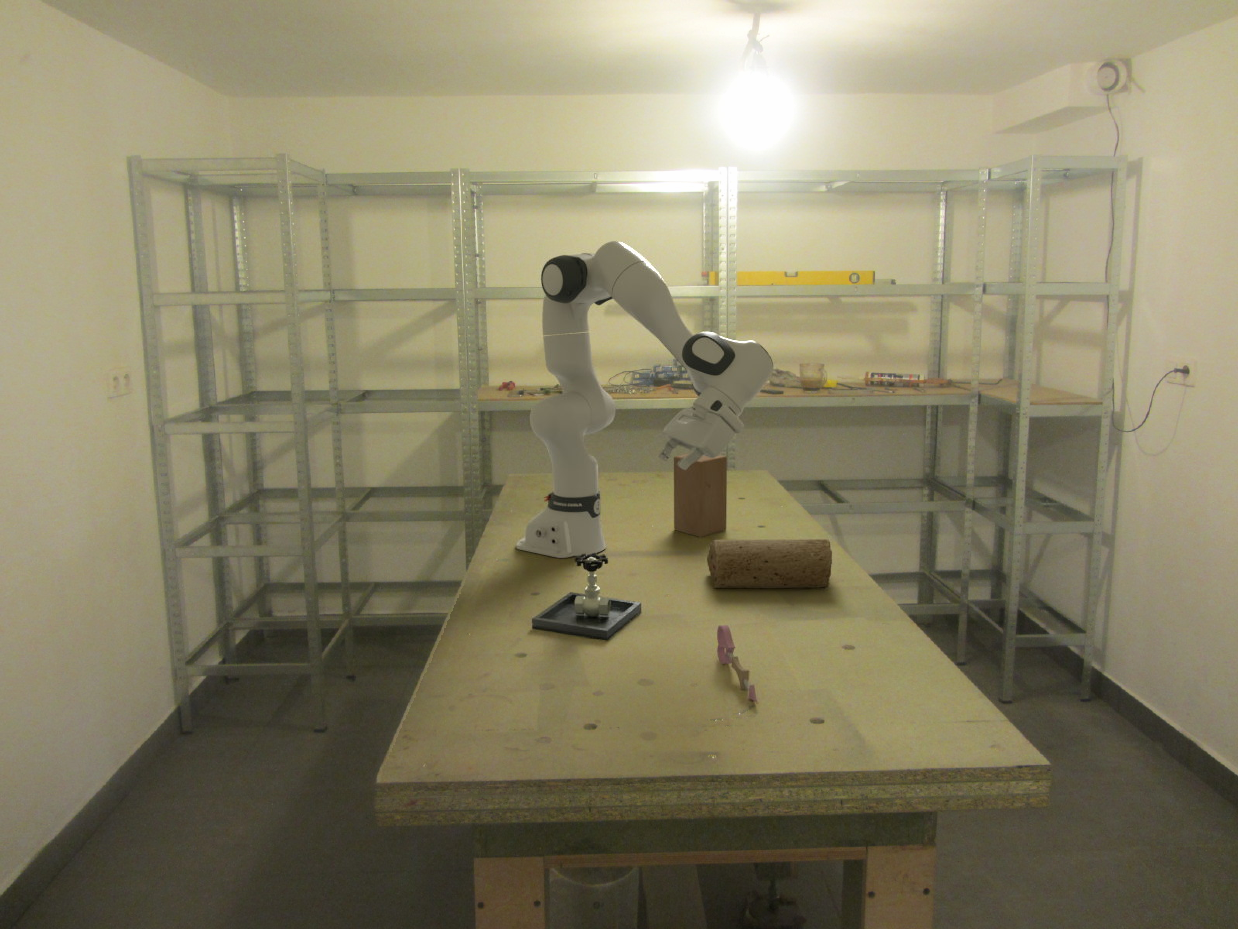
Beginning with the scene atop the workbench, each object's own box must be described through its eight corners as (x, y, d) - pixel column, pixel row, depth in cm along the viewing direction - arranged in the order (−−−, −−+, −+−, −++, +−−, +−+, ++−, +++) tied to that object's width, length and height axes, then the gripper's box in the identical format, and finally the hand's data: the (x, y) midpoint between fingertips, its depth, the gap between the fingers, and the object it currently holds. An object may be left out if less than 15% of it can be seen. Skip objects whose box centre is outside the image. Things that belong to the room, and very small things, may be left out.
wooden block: (700, 538, 232) (700, 461, 228) (673, 530, 239) (672, 456, 235) (727, 530, 239) (727, 456, 234) (699, 523, 246) (699, 450, 242)
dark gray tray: (532, 628, 174) (531, 618, 174) (570, 601, 189) (570, 592, 188) (607, 641, 168) (606, 631, 167) (641, 611, 182) (641, 602, 182)
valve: (605, 623, 175) (604, 563, 173) (572, 621, 176) (570, 562, 174) (612, 610, 181) (611, 553, 179) (580, 609, 183) (578, 552, 180)
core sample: (706, 573, 206) (707, 531, 203) (824, 573, 204) (825, 530, 202) (710, 594, 192) (710, 549, 190) (836, 594, 191) (837, 549, 188)
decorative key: (751, 723, 142) (715, 653, 161) (759, 722, 143) (721, 653, 161) (755, 687, 140) (718, 620, 158) (762, 686, 140) (724, 620, 158)
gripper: (682, 394, 191) (640, 444, 189) (728, 407, 172) (682, 462, 171) (701, 414, 193) (660, 463, 192) (749, 428, 175) (703, 482, 173)
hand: (670, 463), depth 181 cm, fingers open, 8 cm apart
